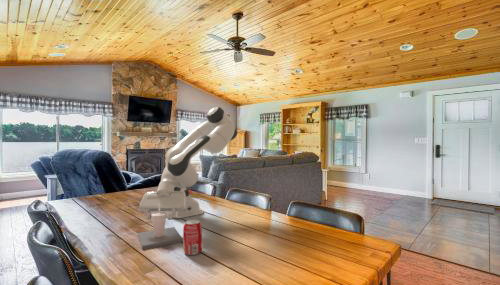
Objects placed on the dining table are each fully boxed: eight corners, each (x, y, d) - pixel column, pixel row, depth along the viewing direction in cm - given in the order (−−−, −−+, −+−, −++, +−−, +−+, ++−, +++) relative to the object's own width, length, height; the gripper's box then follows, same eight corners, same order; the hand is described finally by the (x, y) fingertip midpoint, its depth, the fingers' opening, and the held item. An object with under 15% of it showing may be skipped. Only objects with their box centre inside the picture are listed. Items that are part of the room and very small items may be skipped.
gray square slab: (174, 230, 124) (174, 227, 124) (182, 241, 110) (182, 238, 110) (138, 236, 116) (137, 232, 116) (141, 249, 102) (141, 245, 102)
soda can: (194, 246, 105) (194, 217, 104) (205, 251, 100) (205, 221, 100) (179, 252, 99) (179, 221, 99) (191, 258, 95) (191, 225, 94)
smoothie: (168, 232, 116) (168, 201, 116) (164, 238, 110) (164, 205, 109) (154, 233, 116) (153, 202, 116) (149, 238, 109) (149, 205, 109)
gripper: (142, 188, 120) (132, 215, 110) (186, 188, 119) (180, 215, 110) (146, 195, 124) (137, 222, 115) (188, 195, 124) (183, 222, 114)
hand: (158, 219), depth 112 cm, fingers open, 8 cm apart
